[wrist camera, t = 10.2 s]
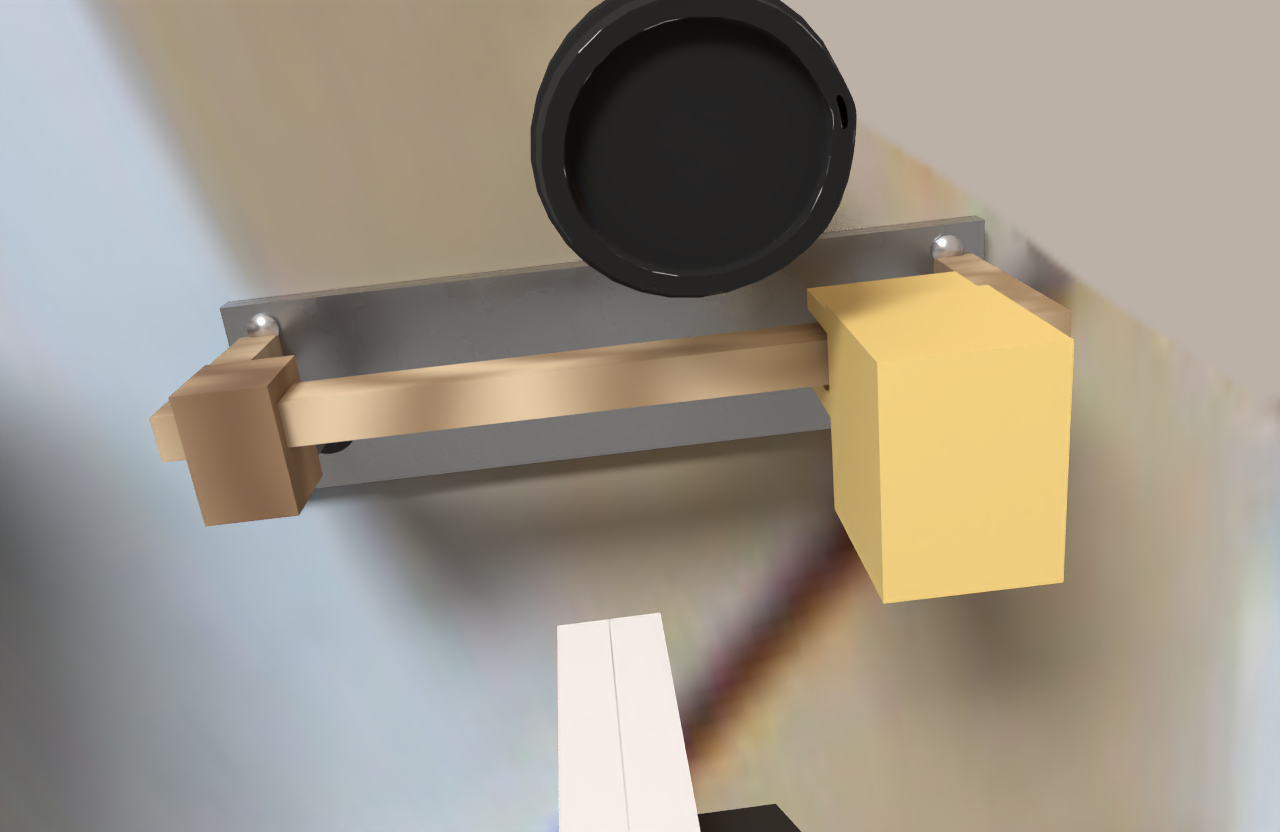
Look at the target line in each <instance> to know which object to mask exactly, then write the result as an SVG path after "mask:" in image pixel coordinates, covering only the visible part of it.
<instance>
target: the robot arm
mask: <svg viewBox="0 0 1280 832" xmlns="http://www.w3.org/2000/svg"><path fill="white" fill-rule="evenodd" d="M557 637H558V759H559V832H801V831H800V830H799V829H798V828H797V827H796V825H795V824H794V823H793V822H792V821H791V820H790V819H789V818H788V817H787V816H786V815H785V814H784V812H783V811H782V810H781V809H780V808H779V807H778V806H777V805H776V804H771V805H763V806H756V807H749V808H741V809H734V810H726V811H719V812H712V813H704V814H697V810H696V804H695V799H694V794H693V788H692V783H691V777H690V772H689V766H688V761H687V756H686V750H685V745H684V739H683V734H682V728H681V723H680V718H679V712H678V707H677V701H676V696H675V690H674V685H673V680H672V674H671V669H670V663H669V658H668V652H667V647H666V641H665V636H664V631H663V625H662V620H661V614H660V613H655V614H647V615H639V616H631V617H623V618H615V619H607V620H600V621H592V622H584V623H576V624H568V625H560V626H557Z"/></svg>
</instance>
